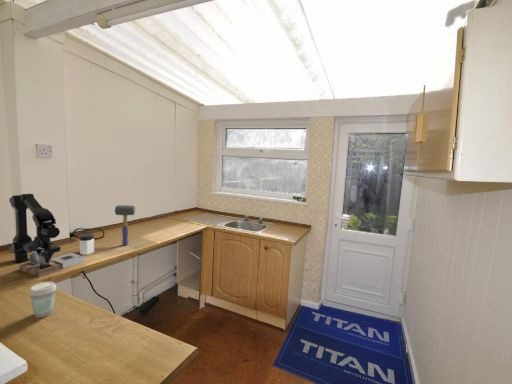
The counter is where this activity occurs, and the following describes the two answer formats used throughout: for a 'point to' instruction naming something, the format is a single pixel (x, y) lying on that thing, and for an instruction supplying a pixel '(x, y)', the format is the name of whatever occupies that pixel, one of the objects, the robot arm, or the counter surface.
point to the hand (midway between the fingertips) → (44, 262)
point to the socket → (67, 260)
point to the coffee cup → (43, 298)
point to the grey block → (43, 261)
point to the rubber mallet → (125, 219)
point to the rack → (38, 266)
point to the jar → (86, 244)
